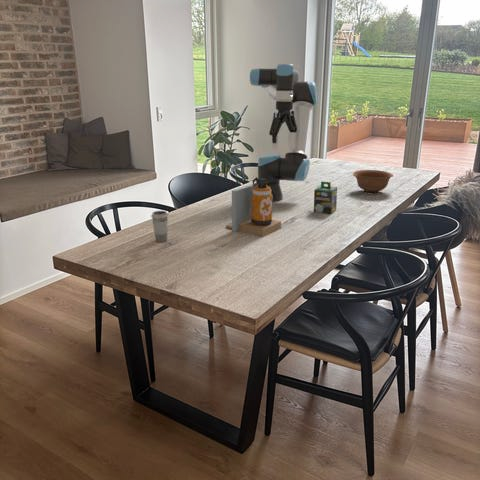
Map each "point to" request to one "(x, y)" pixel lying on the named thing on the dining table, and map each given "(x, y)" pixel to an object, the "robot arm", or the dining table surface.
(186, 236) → the dining table surface
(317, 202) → the chalk box
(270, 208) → the canister
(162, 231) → the cup
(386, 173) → the bowl
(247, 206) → the wooden stand with panel
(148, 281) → the dining table surface
